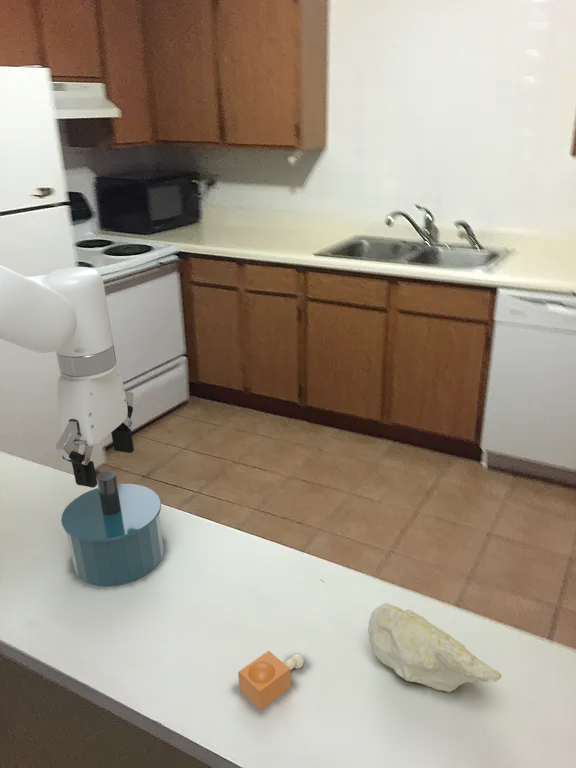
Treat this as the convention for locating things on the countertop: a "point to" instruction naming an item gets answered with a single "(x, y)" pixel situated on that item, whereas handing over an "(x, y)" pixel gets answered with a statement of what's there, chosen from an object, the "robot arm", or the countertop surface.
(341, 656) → the countertop surface
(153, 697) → the countertop surface
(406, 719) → the countertop surface
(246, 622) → the countertop surface
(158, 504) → the lid
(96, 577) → the pot
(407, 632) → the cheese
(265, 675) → the orange knobbed cube
